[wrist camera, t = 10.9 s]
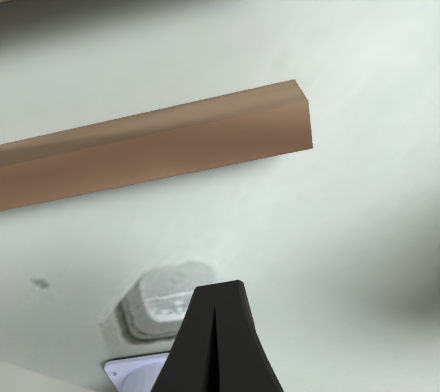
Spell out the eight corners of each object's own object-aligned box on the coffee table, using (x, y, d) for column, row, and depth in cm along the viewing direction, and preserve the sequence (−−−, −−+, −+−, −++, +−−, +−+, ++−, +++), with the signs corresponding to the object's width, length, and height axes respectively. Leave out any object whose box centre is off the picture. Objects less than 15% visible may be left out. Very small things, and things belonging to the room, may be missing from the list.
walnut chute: (299, 121, 18) (312, 148, 15) (-109, 206, 20) (-155, 241, 18) (268, -142, 13) (281, -167, 10) (-268, 15, 15) (-365, 26, 13)
